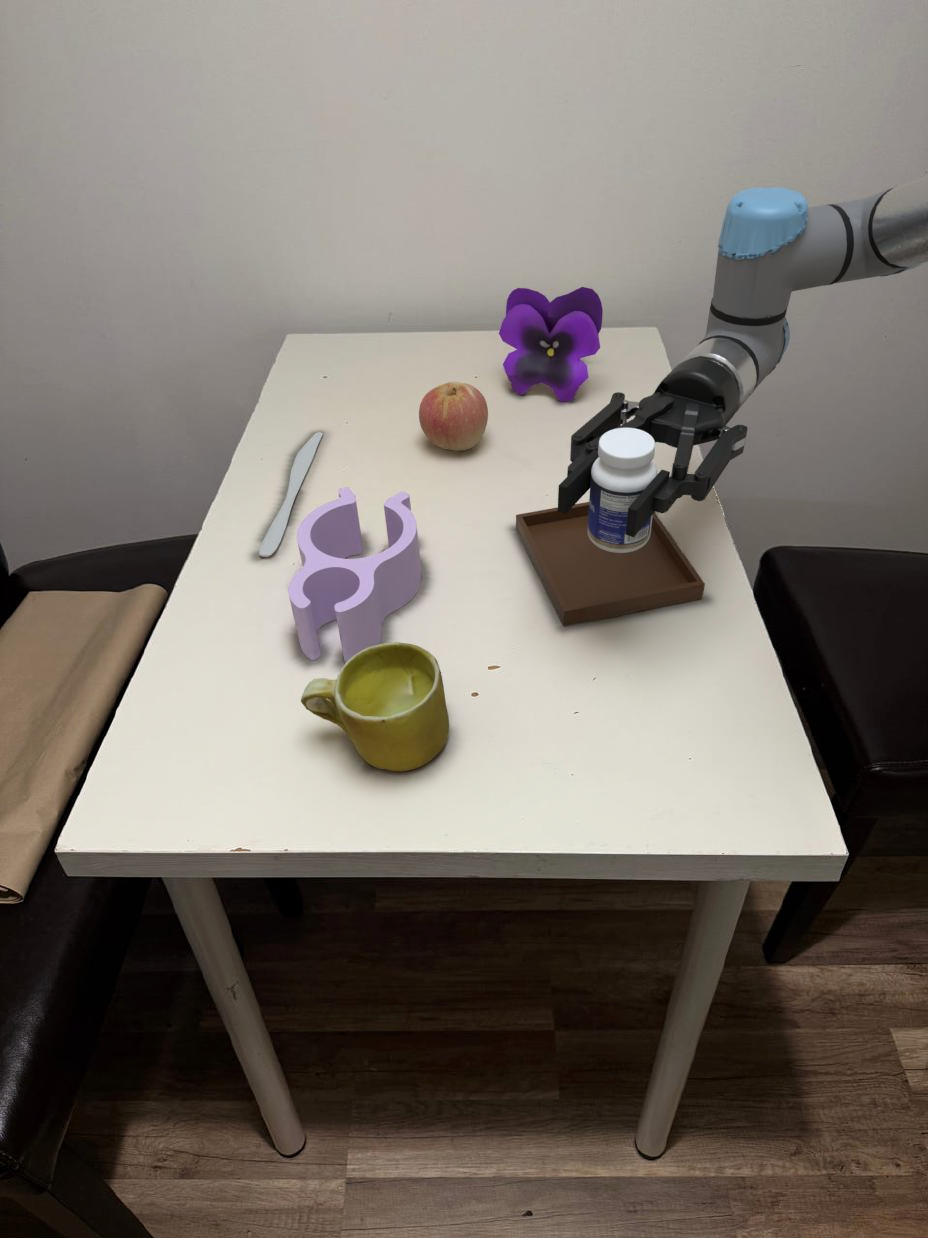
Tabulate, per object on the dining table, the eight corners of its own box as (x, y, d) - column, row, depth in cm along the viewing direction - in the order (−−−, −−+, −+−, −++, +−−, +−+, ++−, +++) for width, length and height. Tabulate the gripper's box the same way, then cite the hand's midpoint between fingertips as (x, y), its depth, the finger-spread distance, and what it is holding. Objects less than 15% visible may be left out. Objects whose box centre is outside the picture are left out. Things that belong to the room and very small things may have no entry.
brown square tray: (702, 599, 93) (705, 583, 91) (563, 626, 91) (563, 611, 89) (639, 506, 105) (641, 492, 104) (515, 529, 103) (515, 514, 102)
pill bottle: (593, 513, 84) (600, 419, 77) (654, 522, 83) (667, 428, 76) (580, 549, 80) (586, 454, 73) (644, 560, 79) (656, 464, 72)
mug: (476, 682, 83) (441, 628, 75) (453, 787, 78) (414, 742, 70) (358, 677, 87) (313, 626, 79) (330, 776, 82) (279, 732, 74)
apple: (474, 466, 113) (472, 409, 108) (410, 454, 116) (405, 398, 110) (498, 432, 119) (497, 377, 114) (437, 421, 122) (433, 367, 116)
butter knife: (248, 553, 101) (273, 553, 100) (306, 431, 120) (328, 431, 120) (249, 557, 101) (274, 557, 100) (307, 435, 121) (329, 435, 120)
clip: (391, 668, 87) (384, 616, 82) (270, 655, 89) (257, 603, 85) (434, 544, 101) (430, 493, 97) (330, 535, 104) (321, 485, 99)
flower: (515, 391, 137) (486, 389, 125) (531, 289, 133) (502, 277, 121) (607, 406, 133) (586, 406, 121) (627, 300, 129) (607, 289, 116)
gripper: (789, 450, 87) (695, 582, 73) (615, 403, 95) (500, 514, 81) (806, 379, 82) (709, 507, 68) (620, 335, 90) (499, 442, 76)
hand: (596, 510), depth 74 cm, fingers closed on pill bottle, 6 cm apart
